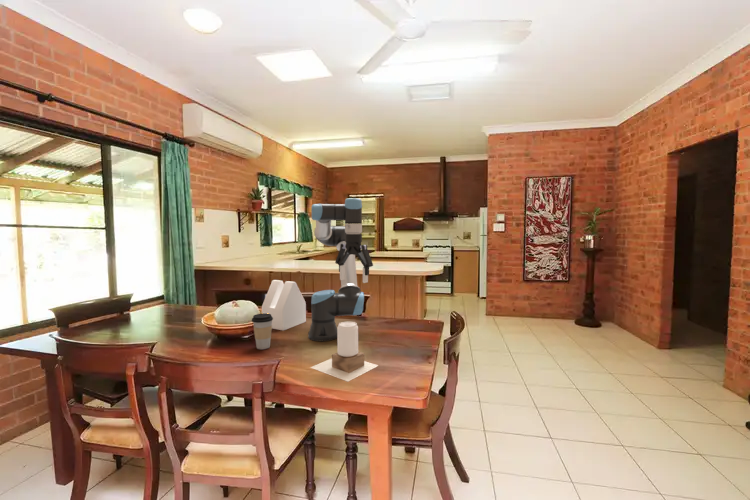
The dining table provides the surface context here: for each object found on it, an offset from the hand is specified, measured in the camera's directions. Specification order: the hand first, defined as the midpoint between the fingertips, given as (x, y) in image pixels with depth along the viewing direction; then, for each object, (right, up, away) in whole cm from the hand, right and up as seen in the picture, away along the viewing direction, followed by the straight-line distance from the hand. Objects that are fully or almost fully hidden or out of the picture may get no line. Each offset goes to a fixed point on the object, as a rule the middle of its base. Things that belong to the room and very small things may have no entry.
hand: (353, 281), depth 156 cm
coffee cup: (-42, -32, +6) cm, 53 cm away
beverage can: (-1, -27, -19) cm, 33 cm away
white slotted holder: (-42, -29, +44) cm, 68 cm away
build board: (-2, -33, -19) cm, 38 cm away
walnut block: (-1, -32, -19) cm, 37 cm away
